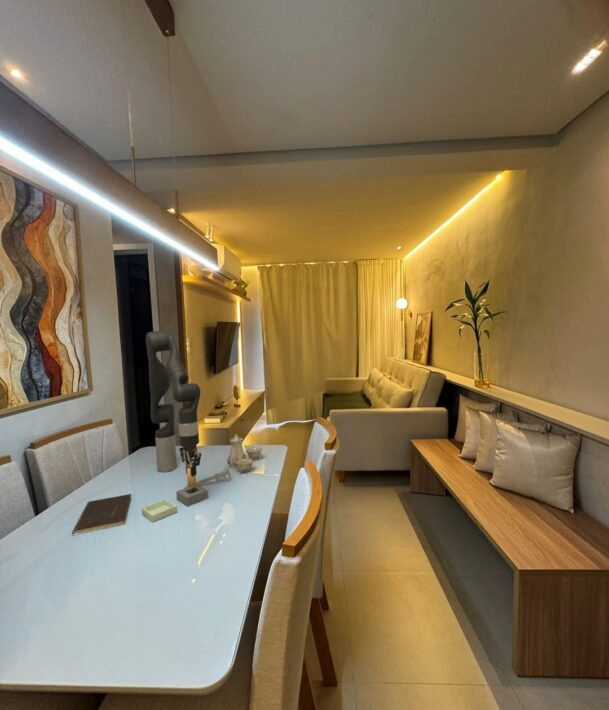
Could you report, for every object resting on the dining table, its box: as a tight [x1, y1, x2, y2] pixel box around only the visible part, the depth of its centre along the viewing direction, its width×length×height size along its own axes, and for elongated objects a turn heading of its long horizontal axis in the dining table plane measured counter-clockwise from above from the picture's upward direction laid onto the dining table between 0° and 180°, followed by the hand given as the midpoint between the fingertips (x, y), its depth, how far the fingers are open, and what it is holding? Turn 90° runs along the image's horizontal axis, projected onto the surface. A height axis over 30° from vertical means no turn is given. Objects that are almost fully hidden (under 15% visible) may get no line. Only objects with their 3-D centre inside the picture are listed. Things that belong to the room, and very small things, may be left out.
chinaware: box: [226, 433, 263, 474], centre depth 177 cm, size 28×17×17 cm, turn 178°
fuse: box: [185, 461, 197, 487], centre depth 140 cm, size 3×3×9 cm
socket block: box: [175, 484, 209, 507], centre depth 141 cm, size 9×9×4 cm
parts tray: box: [141, 498, 178, 523], centre depth 130 cm, size 9×9×2 cm
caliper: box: [183, 467, 232, 489], centre depth 155 cm, size 20×1×6 cm, turn 110°
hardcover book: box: [71, 493, 132, 535], centre depth 131 cm, size 16×23×2 cm
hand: (191, 474), depth 140 cm, fingers closed on fuse, 3 cm apart
